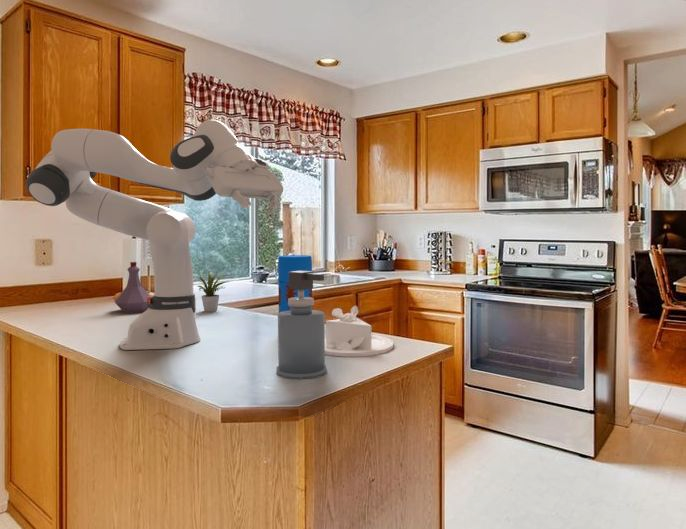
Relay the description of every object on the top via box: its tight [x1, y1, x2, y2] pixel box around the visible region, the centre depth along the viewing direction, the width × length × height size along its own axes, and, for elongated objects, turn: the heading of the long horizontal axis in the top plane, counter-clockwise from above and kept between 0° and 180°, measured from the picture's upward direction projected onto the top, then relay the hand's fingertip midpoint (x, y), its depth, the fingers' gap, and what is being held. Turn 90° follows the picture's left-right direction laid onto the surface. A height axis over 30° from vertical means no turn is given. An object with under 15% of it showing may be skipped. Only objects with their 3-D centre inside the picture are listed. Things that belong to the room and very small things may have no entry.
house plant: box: [196, 271, 230, 313], centre depth 206 cm, size 14×14×16 cm
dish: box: [325, 305, 395, 357], centre depth 147 cm, size 25×25×11 cm
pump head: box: [289, 270, 325, 298], centre depth 118 cm, size 8×4×6 cm, turn 52°
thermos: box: [277, 254, 313, 313], centre depth 164 cm, size 11×11×25 cm
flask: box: [114, 261, 152, 314], centre depth 208 cm, size 16×16×20 cm
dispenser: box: [275, 297, 328, 380], centre depth 120 cm, size 12×12×18 cm
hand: (262, 206), depth 125 cm, fingers open, 8 cm apart
